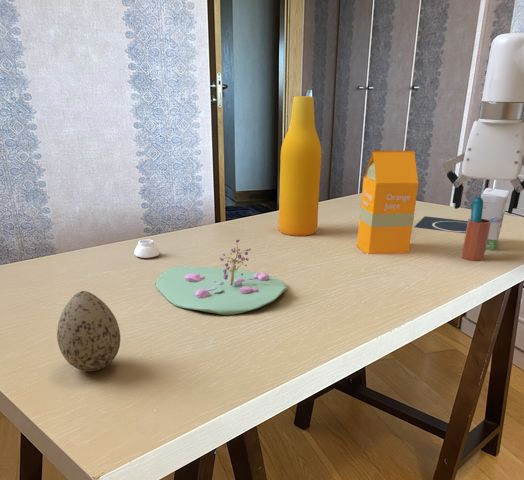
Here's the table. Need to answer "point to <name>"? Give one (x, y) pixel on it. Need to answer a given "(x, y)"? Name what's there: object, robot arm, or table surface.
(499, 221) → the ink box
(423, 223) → the drawing mat
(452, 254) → the table surface
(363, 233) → the orange juice
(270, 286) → the plant
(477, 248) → the pen cup
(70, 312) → the decorative egg
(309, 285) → the table surface
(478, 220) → the marker
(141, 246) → the white jar
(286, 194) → the beer bottle
